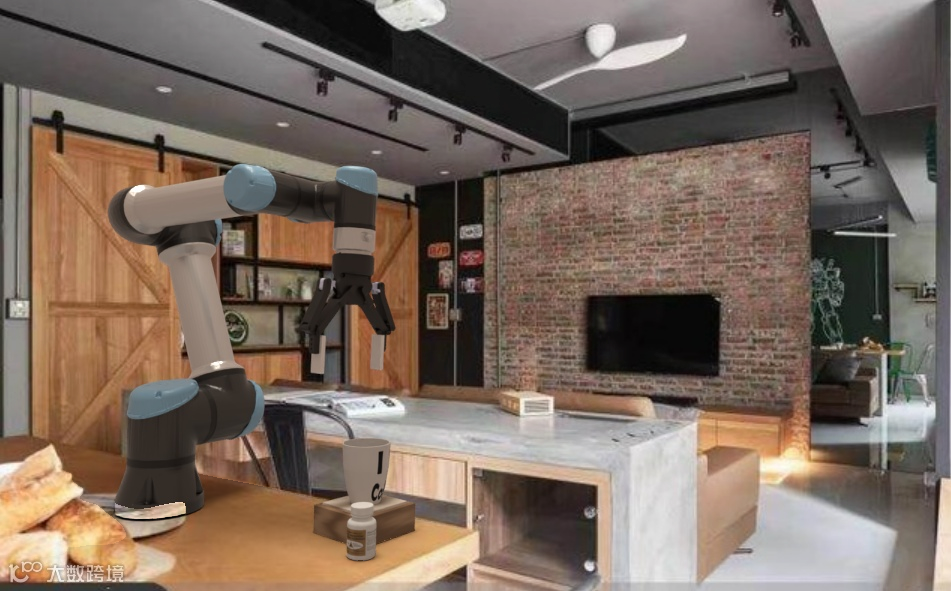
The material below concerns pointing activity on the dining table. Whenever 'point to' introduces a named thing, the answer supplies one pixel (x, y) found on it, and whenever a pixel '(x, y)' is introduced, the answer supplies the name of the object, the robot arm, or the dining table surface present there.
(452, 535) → the dining table surface
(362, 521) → the pill bottle
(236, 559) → the dining table surface
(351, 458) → the cup
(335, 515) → the pedestal
